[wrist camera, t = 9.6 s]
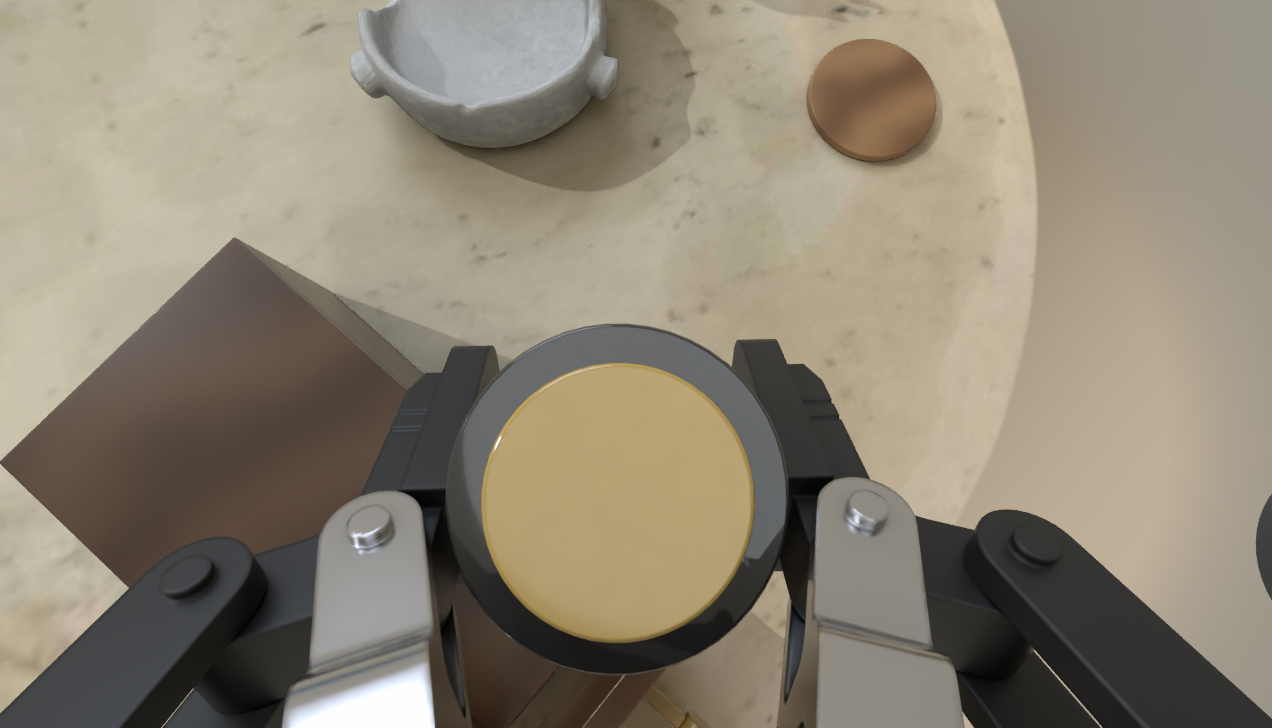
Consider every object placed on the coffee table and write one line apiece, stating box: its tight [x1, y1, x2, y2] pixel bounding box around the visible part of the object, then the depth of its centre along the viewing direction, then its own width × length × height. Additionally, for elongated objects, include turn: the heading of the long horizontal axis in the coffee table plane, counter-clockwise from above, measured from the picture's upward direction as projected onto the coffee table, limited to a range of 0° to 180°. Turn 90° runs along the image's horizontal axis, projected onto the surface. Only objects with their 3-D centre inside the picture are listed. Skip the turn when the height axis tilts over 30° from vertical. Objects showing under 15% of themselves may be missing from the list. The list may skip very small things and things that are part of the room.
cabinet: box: [0, 238, 424, 588], centre depth 28 cm, size 15×13×9 cm
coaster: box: [807, 39, 936, 161], centre depth 36 cm, size 8×8×1 cm
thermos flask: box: [445, 324, 790, 676], centre depth 13 cm, size 5×5×12 cm
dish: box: [350, 0, 619, 148], centre depth 33 cm, size 14×14×5 cm
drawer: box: [452, 583, 710, 728], centre depth 27 cm, size 18×11×7 cm, turn 49°
